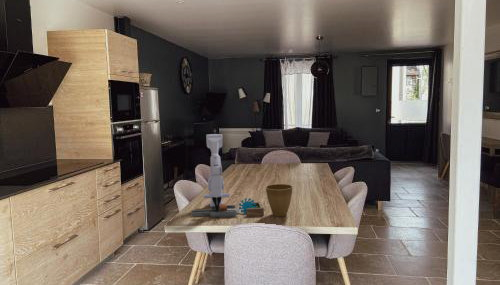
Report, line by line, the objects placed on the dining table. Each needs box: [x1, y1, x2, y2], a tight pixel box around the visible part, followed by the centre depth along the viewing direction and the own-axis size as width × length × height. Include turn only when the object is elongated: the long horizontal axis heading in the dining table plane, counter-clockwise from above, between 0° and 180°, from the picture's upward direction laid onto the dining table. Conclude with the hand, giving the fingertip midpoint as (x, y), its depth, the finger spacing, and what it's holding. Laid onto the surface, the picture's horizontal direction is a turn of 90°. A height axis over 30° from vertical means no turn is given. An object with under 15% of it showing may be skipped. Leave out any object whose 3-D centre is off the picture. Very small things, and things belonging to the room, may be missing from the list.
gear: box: [238, 197, 258, 215], centre depth 216 cm, size 11×6×10 cm
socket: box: [190, 204, 237, 219], centre depth 213 cm, size 14×25×3 cm, turn 95°
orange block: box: [220, 202, 240, 215], centre depth 214 cm, size 4×11×5 cm, turn 95°
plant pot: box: [265, 183, 293, 217], centre depth 209 cm, size 15×15×16 cm
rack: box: [246, 201, 265, 217], centre depth 215 cm, size 14×10×4 cm
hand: (217, 210), depth 213 cm, fingers closed
